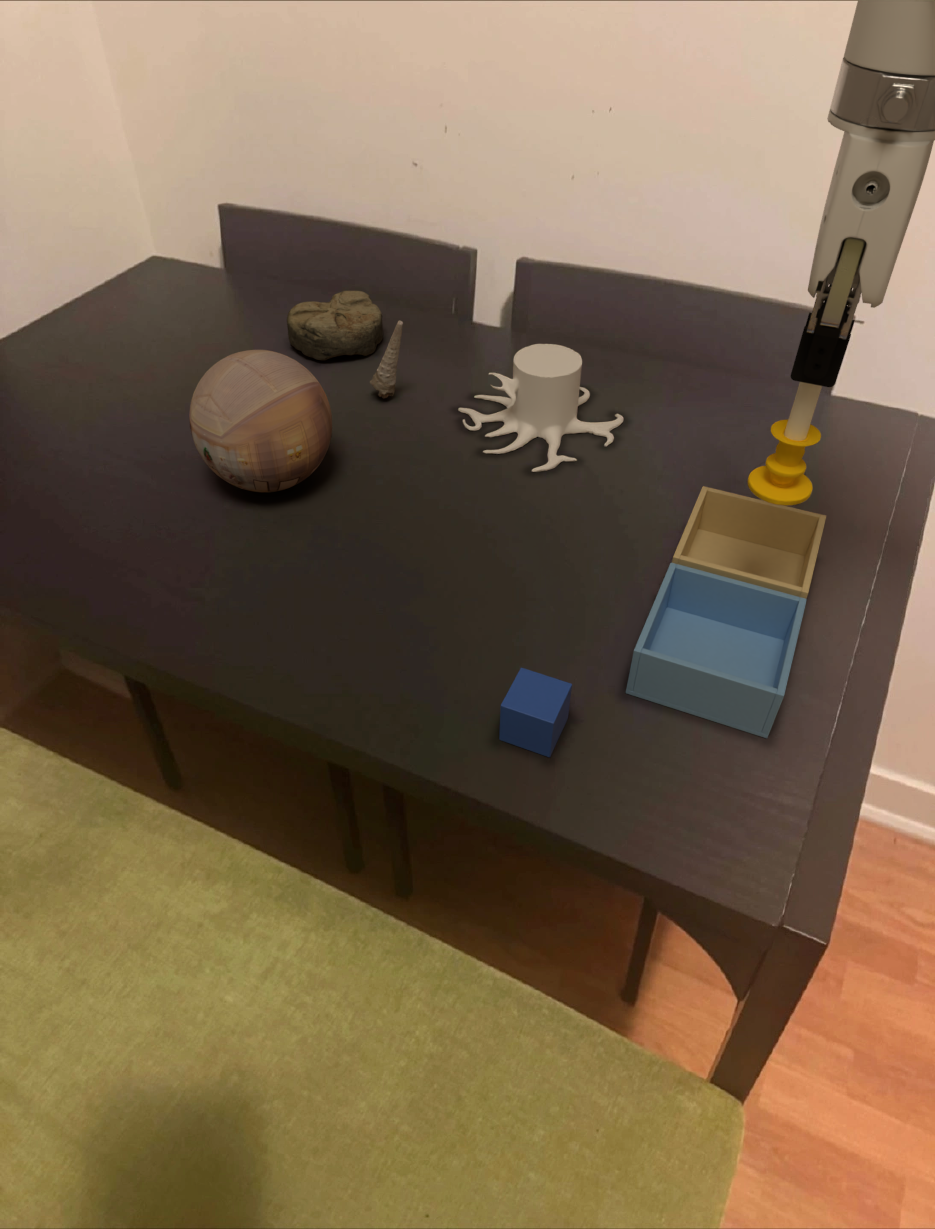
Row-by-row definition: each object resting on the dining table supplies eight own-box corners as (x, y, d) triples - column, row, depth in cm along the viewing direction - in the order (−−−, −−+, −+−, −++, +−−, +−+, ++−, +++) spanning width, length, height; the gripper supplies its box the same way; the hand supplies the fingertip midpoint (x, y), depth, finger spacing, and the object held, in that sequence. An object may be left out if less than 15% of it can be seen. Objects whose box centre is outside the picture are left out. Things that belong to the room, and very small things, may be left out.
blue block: (568, 718, 73) (572, 683, 69) (549, 758, 70) (553, 723, 66) (518, 701, 74) (521, 666, 71) (499, 740, 71) (500, 705, 68)
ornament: (332, 436, 104) (317, 318, 93) (345, 510, 93) (330, 386, 83) (206, 450, 102) (176, 331, 91) (205, 528, 91) (171, 403, 81)
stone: (278, 333, 123) (272, 298, 119) (364, 314, 127) (361, 279, 123) (307, 375, 115) (301, 338, 111) (398, 353, 119) (396, 316, 115)
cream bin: (810, 558, 87) (826, 515, 84) (792, 636, 79) (808, 593, 76) (693, 527, 91) (702, 485, 87) (663, 599, 83) (672, 556, 79)
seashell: (376, 390, 112) (369, 308, 104) (413, 397, 110) (408, 314, 103) (366, 401, 110) (358, 319, 102) (403, 409, 108) (398, 325, 101)
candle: (824, 495, 71) (888, 315, 60) (775, 512, 69) (832, 331, 58) (781, 463, 74) (835, 287, 63) (734, 479, 73) (780, 301, 62)
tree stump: (445, 394, 111) (444, 335, 105) (583, 371, 115) (589, 313, 109) (496, 480, 97) (497, 418, 91) (650, 451, 101) (661, 389, 96)
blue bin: (790, 642, 79) (807, 598, 75) (767, 738, 71) (784, 696, 67) (661, 605, 82) (670, 561, 79) (625, 693, 74) (633, 650, 71)
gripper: (963, 140, 45) (855, 438, 58) (968, 73, 56) (875, 339, 69) (817, 124, 48) (744, 415, 60) (848, 63, 58) (780, 322, 71)
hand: (814, 373), depth 64 cm, fingers closed on candle
